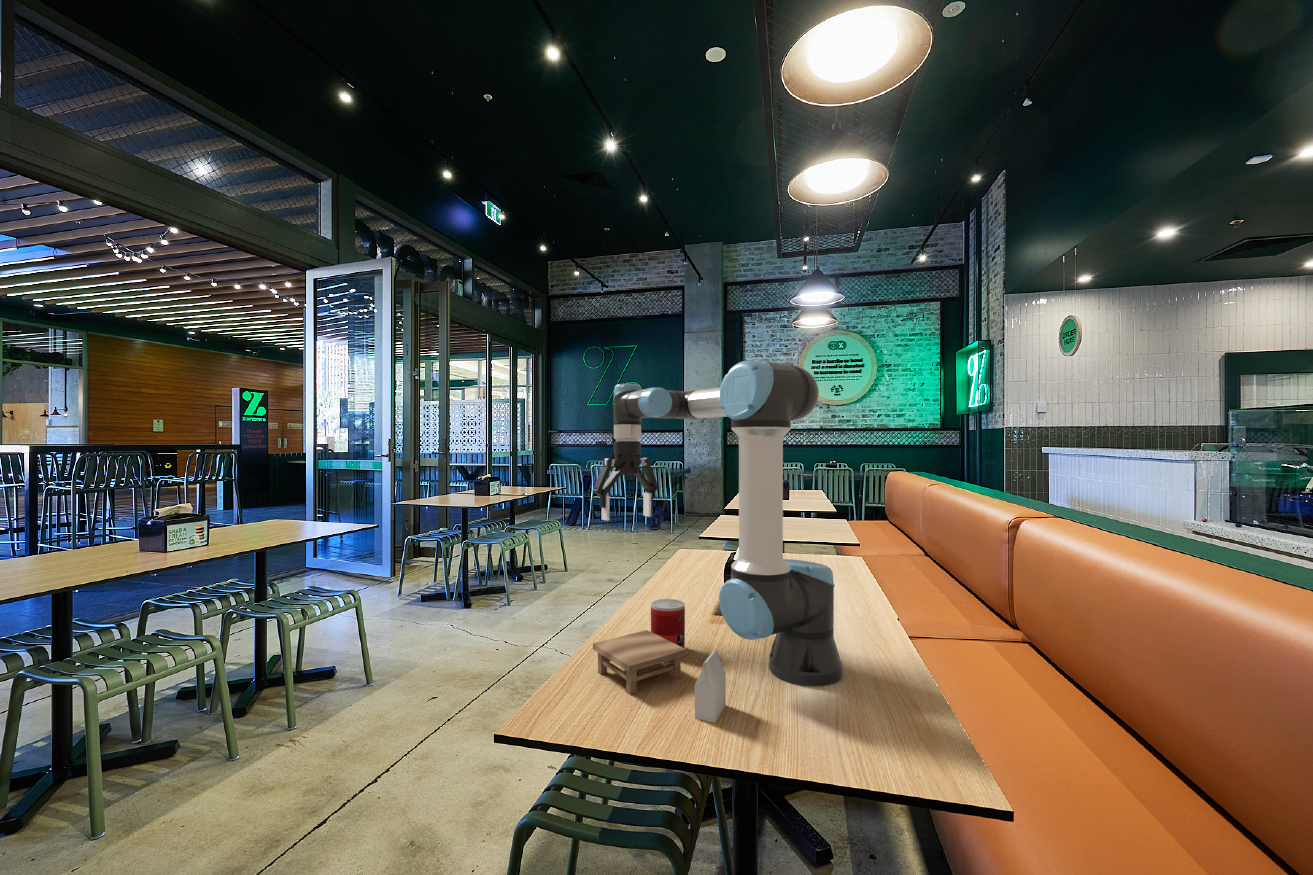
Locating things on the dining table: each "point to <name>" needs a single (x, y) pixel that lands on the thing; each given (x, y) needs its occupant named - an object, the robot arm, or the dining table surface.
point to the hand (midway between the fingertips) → (627, 518)
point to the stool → (639, 656)
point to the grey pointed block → (710, 690)
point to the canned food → (669, 620)
